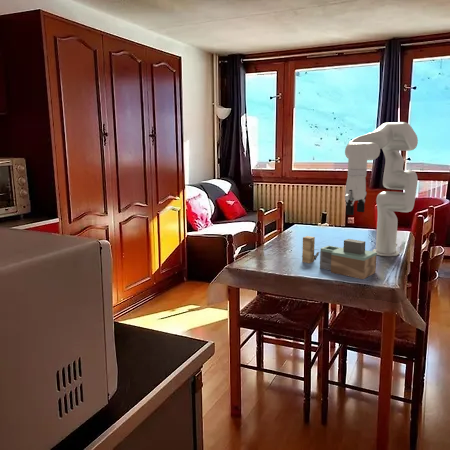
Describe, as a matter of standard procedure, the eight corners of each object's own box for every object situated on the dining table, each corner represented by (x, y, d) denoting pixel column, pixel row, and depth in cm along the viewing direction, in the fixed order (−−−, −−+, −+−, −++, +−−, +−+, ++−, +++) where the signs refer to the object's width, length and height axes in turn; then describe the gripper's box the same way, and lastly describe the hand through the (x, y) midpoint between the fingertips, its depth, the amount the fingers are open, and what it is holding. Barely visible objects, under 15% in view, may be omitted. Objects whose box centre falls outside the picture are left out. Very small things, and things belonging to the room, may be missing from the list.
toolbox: (330, 263, 202) (331, 247, 201) (375, 272, 188) (376, 255, 186) (316, 269, 194) (317, 252, 192) (363, 279, 179) (363, 260, 177)
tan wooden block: (306, 260, 209) (307, 236, 206) (314, 261, 206) (314, 237, 204) (302, 261, 206) (302, 237, 204) (309, 263, 203) (310, 238, 201)
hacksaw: (315, 261, 209) (315, 258, 208) (294, 259, 212) (294, 256, 212) (322, 249, 231) (322, 246, 231) (302, 247, 234) (302, 245, 234)
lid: (331, 247, 201) (331, 234, 200) (376, 255, 186) (377, 241, 185) (317, 252, 192) (317, 238, 191) (363, 260, 177) (364, 246, 176)
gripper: (358, 171, 189) (356, 210, 192) (338, 174, 176) (337, 215, 180) (374, 172, 184) (372, 211, 187) (355, 174, 171) (353, 217, 175)
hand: (355, 213), depth 183 cm, fingers open, 9 cm apart
